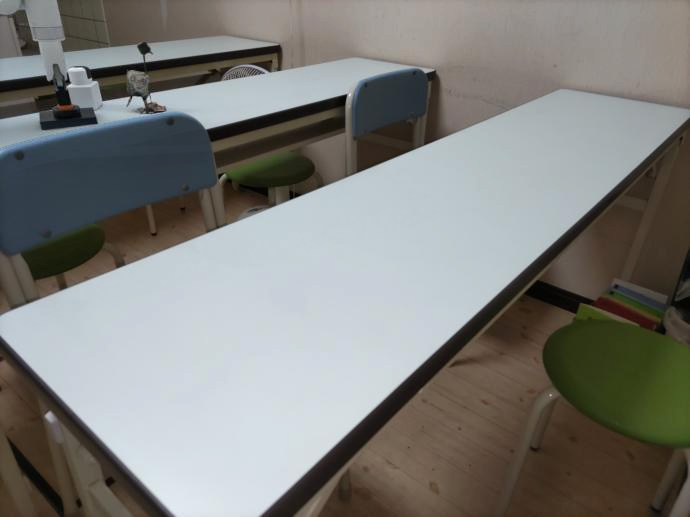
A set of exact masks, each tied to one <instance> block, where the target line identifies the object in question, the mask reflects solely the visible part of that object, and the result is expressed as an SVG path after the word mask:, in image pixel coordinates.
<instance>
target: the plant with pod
mask: <svg viewBox="0 0 690 517" xmlns="http://www.w3.org/2000/svg"><path fill="white" fill-rule="evenodd" d="M136 48H137V50H138V52H139V53H140V54H141V55H142V59H143V60H142V61H143V67H144V71H145V72H144V71H139V70H134V69H131V70H127V72H126V86H125V87H126V93H127V94H128V96H129V98H128V100H127V103H126V105H125V106H126V108H128V107H129V106H130V104H131V102H132V100H133V97H137V98H141V100H142V101H143V104H144V107H139V108H137V111H138V110H140V109H142V110H140V112H139V115H147V114H153V113H154V112H155V113H156V112H165V111H166V109H167V106H166V105H160V104H158V102H157V101H152V95H151V90H150V83H151V81H150V76H149V74H148V71H147V65H146V55H147V54H150V55H154V53H153V52H152V48H151V47H150V45H149V44H148V42H147V41H146V40H142V41H141V42H139V43H137V45H136ZM148 98H149V100H150V102H148ZM143 108H144V109H143ZM145 113H147V114H145Z"/></svg>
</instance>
